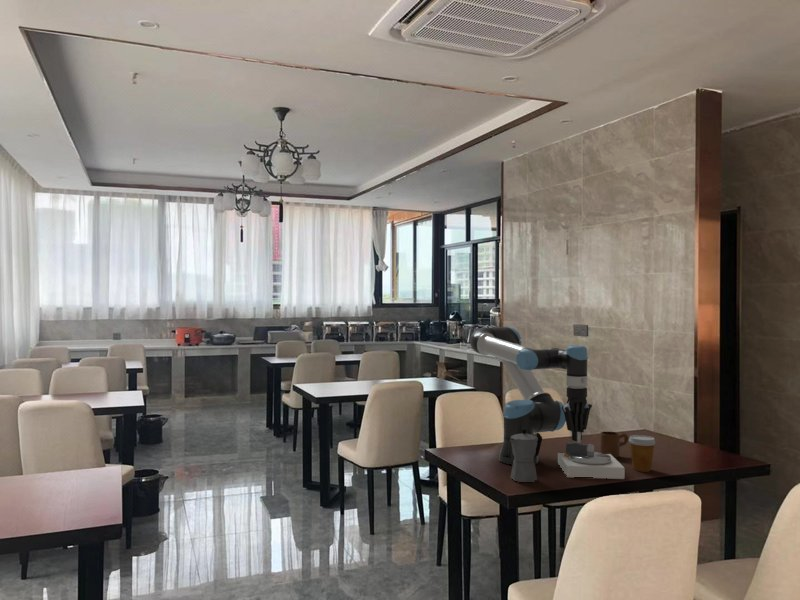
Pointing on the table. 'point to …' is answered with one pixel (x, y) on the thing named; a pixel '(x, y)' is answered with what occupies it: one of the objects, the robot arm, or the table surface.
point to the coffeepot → (525, 456)
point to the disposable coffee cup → (642, 452)
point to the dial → (586, 454)
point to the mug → (612, 443)
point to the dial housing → (591, 468)
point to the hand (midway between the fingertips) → (576, 448)
